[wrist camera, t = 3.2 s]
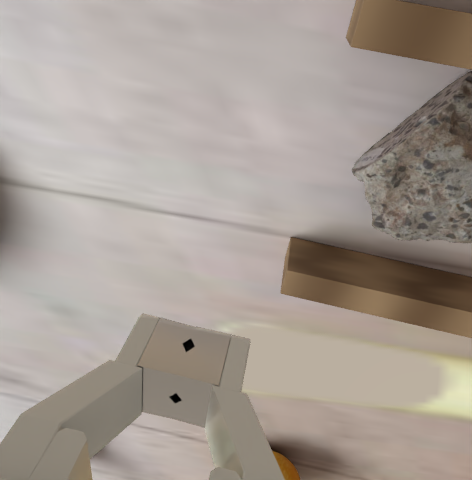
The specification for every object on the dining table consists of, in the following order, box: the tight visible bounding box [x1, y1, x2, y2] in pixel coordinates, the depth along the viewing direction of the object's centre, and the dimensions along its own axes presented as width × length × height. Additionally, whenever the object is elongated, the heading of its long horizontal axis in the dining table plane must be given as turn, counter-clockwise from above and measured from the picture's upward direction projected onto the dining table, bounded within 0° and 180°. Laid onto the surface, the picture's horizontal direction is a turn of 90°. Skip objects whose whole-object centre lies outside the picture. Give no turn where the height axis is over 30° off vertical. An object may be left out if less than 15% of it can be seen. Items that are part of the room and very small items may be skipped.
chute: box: [281, 0, 472, 338], centre depth 22 cm, size 18×17×4 cm
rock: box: [352, 71, 472, 243], centre depth 22 cm, size 9×11×4 cm
